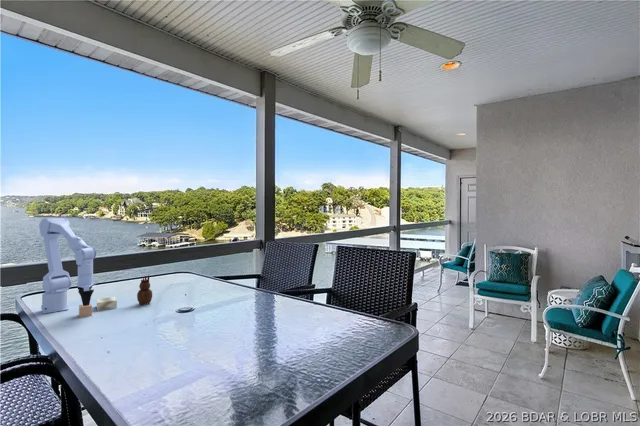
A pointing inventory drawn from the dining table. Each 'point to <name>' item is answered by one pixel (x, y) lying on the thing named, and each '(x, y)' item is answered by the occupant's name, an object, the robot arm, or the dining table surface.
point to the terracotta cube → (85, 310)
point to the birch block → (106, 303)
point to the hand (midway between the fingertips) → (85, 303)
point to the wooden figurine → (144, 292)
